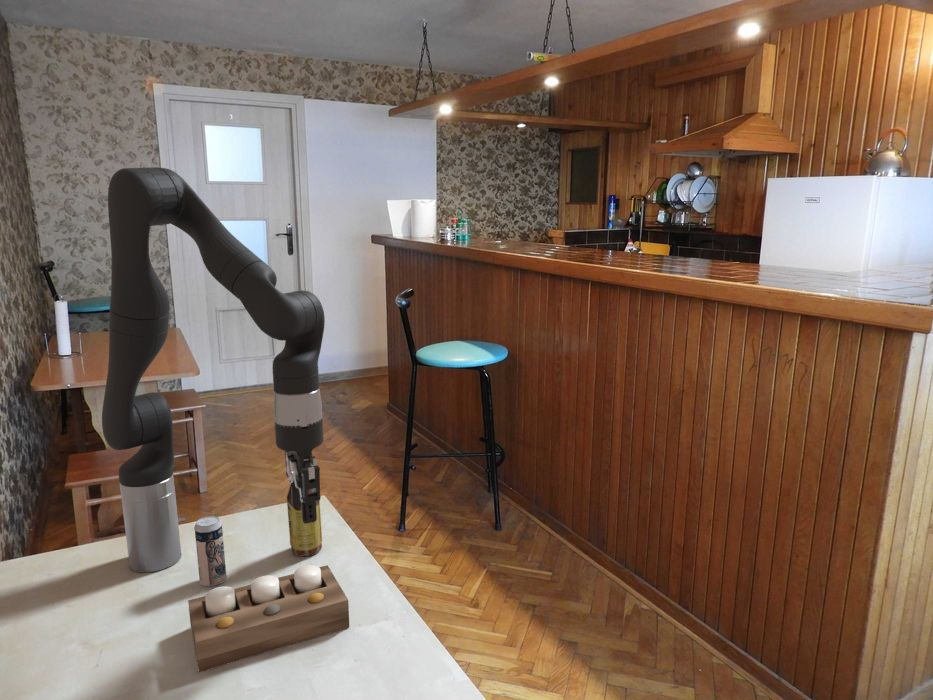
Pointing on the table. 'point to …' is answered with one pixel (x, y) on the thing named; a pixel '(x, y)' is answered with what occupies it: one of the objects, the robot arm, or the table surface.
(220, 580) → the beer can
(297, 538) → the sauce bottle
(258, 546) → the table surface
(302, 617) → the button board
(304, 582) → the button
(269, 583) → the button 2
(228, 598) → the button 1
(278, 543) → the table surface
